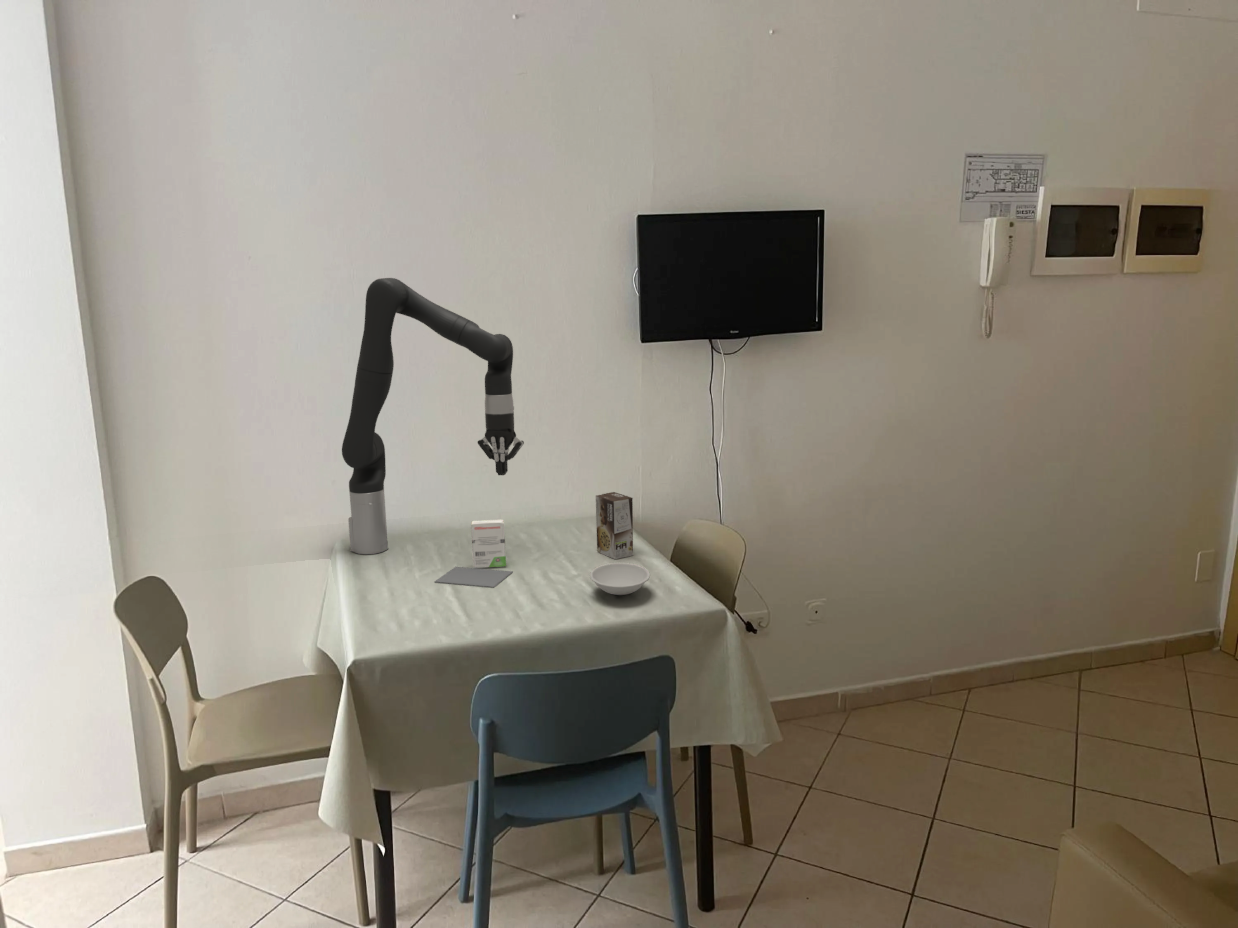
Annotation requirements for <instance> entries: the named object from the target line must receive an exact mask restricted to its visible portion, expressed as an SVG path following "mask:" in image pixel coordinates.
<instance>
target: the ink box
mask: <svg viewBox="0 0 1238 928" xmlns="http://www.w3.org/2000/svg"><path fill="white" fill-rule="evenodd" d="M470 529H471V531H470V532H471V534H470V535H471V553H472V568H479V569H485V568H496V567H497V568H498V567H506V566H507V557H506V556H507V555H506V554H507V552H506V535H505V534H506V533H505V531H506V530H505V520H504V519H488V520H487V519H485V520H472V521H471V522H470Z"/></svg>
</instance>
